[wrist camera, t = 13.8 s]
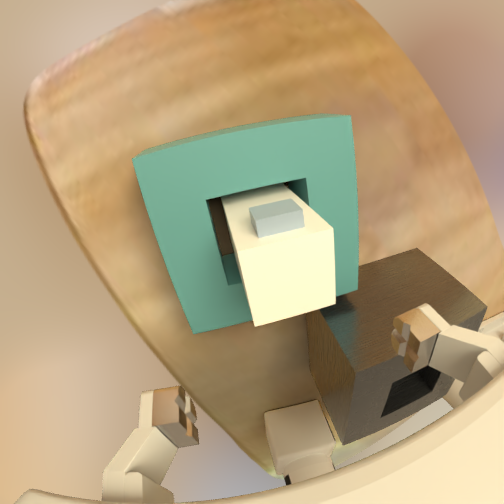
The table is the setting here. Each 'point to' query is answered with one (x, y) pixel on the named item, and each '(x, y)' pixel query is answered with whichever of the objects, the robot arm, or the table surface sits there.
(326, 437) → the medicine bottle
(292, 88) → the table surface
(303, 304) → the plug
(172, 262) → the block
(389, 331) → the dark grey square frame
